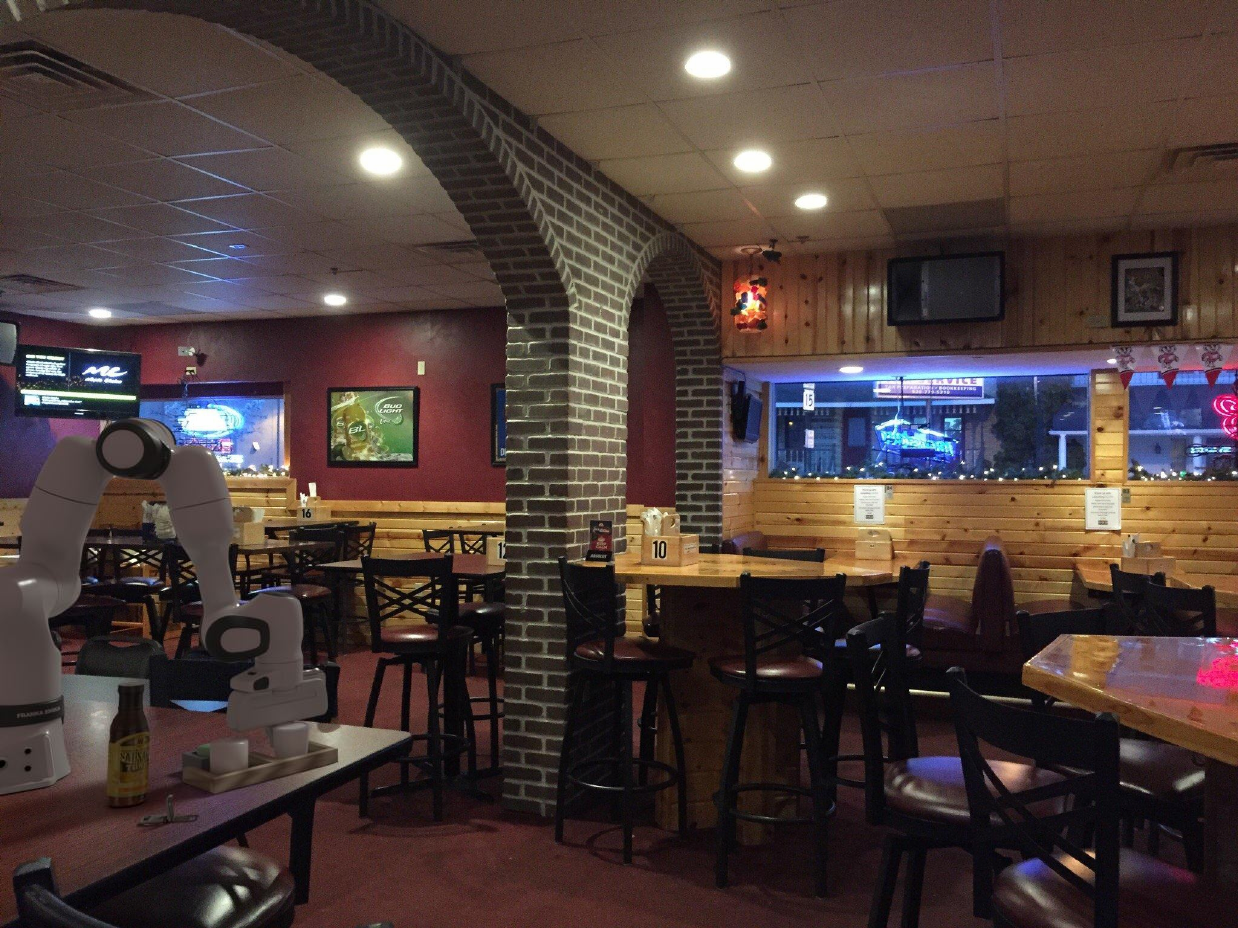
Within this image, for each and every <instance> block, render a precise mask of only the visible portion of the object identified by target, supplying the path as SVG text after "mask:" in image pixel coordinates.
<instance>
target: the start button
mask: <svg viewBox="0 0 1238 928" xmlns="http://www.w3.org/2000/svg"><path fill="white" fill-rule="evenodd" d="M210 743H211V742H208V743H204V744H200V745H197V746H196V750H197V755H198V756H201V757H208V756H210Z"/></svg>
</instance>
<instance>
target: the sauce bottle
mask: <svg viewBox="0 0 1238 928" xmlns="http://www.w3.org/2000/svg"><path fill="white" fill-rule="evenodd" d="M144 692H145V682H143V681H129V682H128V681H127V682H121V683H118V685H117V693H118V706H117V713H116V714H115V716H114V717H113V719H112V721H111V723H110V725H109V740H108V745H107V746H108V749H107V750H108V752H107V754H108V755H107V772H106V773H107V776H106V795H107V796H106V797H107V798H106V803H107V805H108V806H110V807H114V808H123V807H124V808H125V806H126V807H133V806H137V805H140V804H141V802H142V803H143V801H144V802H146V800H147V793H148V789H149V768H150V767H149V766H150V765H149V763H150V758H149V757H150V740H151V739H150V737H151V736H150V735H151V733H150V728H149V723H148V719H147V717H146V714H145V711H144V704H143V703H144ZM136 804H137V805H136Z"/></svg>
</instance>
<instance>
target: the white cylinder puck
mask: <svg viewBox="0 0 1238 928" xmlns="http://www.w3.org/2000/svg"><path fill="white" fill-rule="evenodd" d="M209 743H210V773H212V774H215V775H218V776H219V775H223V774H227V773H231V772H235V771H239V770H243V769H247V768H248V752H249V739H248V738H245V737H236V736H235V737H226V738H225V737H224V738H220V739H215V740H212V741H211V742H209Z"/></svg>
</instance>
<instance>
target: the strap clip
mask: <svg viewBox="0 0 1238 928" xmlns="http://www.w3.org/2000/svg"><path fill="white" fill-rule="evenodd" d="M173 796H174V795H173V794H169V795H168V796H167V798H166V799H165V809H166V813H165V814H150V815H146V816H143V817H141V818H140V820H139V822H138V825H139V824H140V825H144V824H158V825H162V824H161V823H164V824H166V823H165V821H166V820H167V821H166V822H169V824H170V823H171V822H173V823H171V824H180V823H181V822H183V823H192V822H197V821H198V819H199V816H200V814H189V815H188V814H187V815H185V814H184V815H177V816H176V815H175V812H174V810H175V809H174V803H173ZM192 817H195V819H191V818H192ZM167 818H168V819H167ZM143 820H146V821H143ZM179 822H180V823H179Z"/></svg>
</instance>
